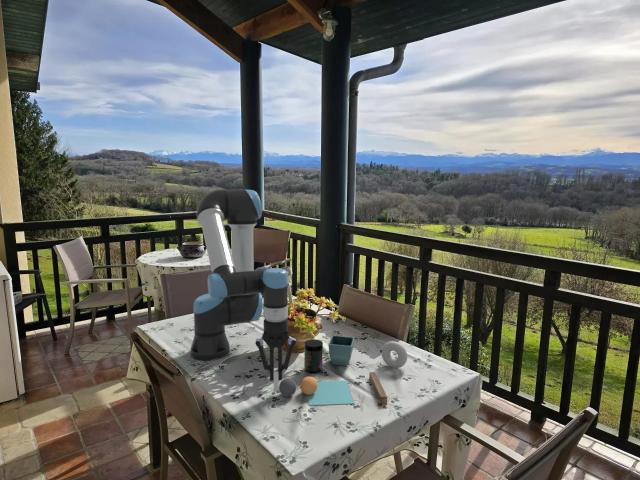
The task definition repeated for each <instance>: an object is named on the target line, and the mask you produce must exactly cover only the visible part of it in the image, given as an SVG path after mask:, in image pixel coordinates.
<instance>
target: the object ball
mask: <svg viewBox="0 0 640 480" xmlns="http://www.w3.org/2000/svg"><path fill="white" fill-rule="evenodd" d="M317 382H318V381H317V379H316V378H315V377H313V376H305V377H304V378H302V380H301V382H300V389H301V391H302V393H303V394H304V395H307V396H308V395H311V394H313V393H315V392H316V390H317V387H318V384H317Z"/></svg>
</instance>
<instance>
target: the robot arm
mask: <svg viewBox="0 0 640 480" xmlns="http://www.w3.org/2000/svg"><path fill="white" fill-rule="evenodd" d="M262 207H263V205H262V201H261V199H260V195H259V193H257V191H255V190H253V189H246V188H245V189H215V190H212V191H209V192H208V193H206V194H205V195H204V196H203V197H202V199H201V200H200V202H199V203H198V206H197V209H196V220H197V223H198V225H199V226H200V227H201V228H202V233H203V238H204V242H205V248H206V252H207V256H208V261H209V264H210V269H211V274H209V275H208V276H207V282H206V283H207V291H208V293H205V294H202V295H200V296H198V297H196V299H195V300H194V302H193V310H192V311H193V320H194V321H193V322H194V326H193V327H194V328H193V330H194V336H193V340H192V343H191V346H190V356H191V358H193V359H195V360H198V361H213V360H214V361H215V360H218V359H221V358H223V357H225V356H227V355H229V353H230V351H231V348H230V347H231V345H230V342H229V339H228V337H227V334H226V330H225V329H226V326H233V325H239V324H249V323H252V322H257V321H259V319H260V318H261V316H262V315H263V333H262V336H261V337H259V338H256V339H255V346H256V347H257V349H258V351H259V355H260V358H261V362H262V365H263V369H264V370H265V371H268V372H269V380H270V381H272V382H273V392H279V391H280V390H279V385H280V383H279V381H282V380H283V371H284V370H287V369H288V368H289V364H290V360H291V356H292V353H293V348H294V347H295V345H296V343H297V339H296V337H292V336H290V333H289V319H288V317H289V316H288V314H289V312H288V311H289V310H288V309H289V304H288V300H289V299H288V298H289V296H288V295H289V293H288V291H289V286H288V285H289V278H288V277H289V276H288V272H287V270H286V269H284V268H281V267H280V268H279V267H273V268H272V267H271V268H267V267H257V268H256V269H254V267H255V265H254V264H255V259H254V228H255V226H256V225H257V224H258V220H259V219H261V218H262V213H263V209H262ZM224 220H225V221H226V224H227V225H228V226H229V227H230V229H231V230H230V231H231V246H230V243H229V240H228V239H229V238H228V236H227V232H226V229H225V225H224ZM262 295H263V296H262ZM262 313H263V314H262ZM264 343H265V344H266V345H267V346H268V347H269V362H268V359H267V355H266V351H265V347H264ZM286 343H287V344H288V347H287V350H286V355H285V358H284V363H283V347H284V345H286ZM275 348H276V349H277V367H275Z"/></svg>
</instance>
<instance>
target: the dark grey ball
mask: <svg viewBox="0 0 640 480" xmlns="http://www.w3.org/2000/svg"><path fill="white" fill-rule="evenodd" d="M278 391H279V392H280V394H281V395H282V396H284V397H292V396H293V395H294V394H295V393H296V391H297V384H296V382H295V380H294V379H292V378H290V377H286V378H284V379H282V380H280V383H279V390H278Z"/></svg>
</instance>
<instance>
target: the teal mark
mask: <svg viewBox="0 0 640 480" xmlns="http://www.w3.org/2000/svg"><path fill="white" fill-rule="evenodd" d="M317 384H318V387H317V390H316V392H315V393H313V394H311V395H307V396H308V404H309V405H308V406H310V407H313V406H331V405H333V406H334V405H335V406H336V405H337V406H338V405H355V404H356V403H355V400H354V396H353V393H352V390H351V388H350V385H349V381H348V380H332V381H331V380H330V381H329V380H328V381H327V380H325V381H317Z"/></svg>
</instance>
